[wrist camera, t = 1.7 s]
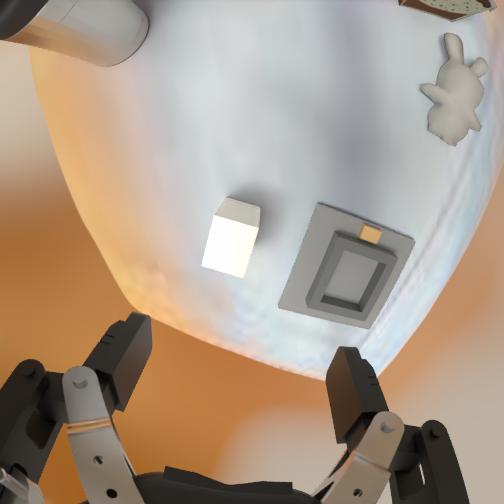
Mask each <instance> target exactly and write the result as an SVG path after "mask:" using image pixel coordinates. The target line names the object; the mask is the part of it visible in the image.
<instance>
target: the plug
mask: <svg viewBox="0 0 504 504" xmlns="http://www.w3.org/2000/svg"><path fill="white" fill-rule="evenodd" d="M259 222H260V207H259V206H255V205H252V204H249V203H245V202H242V201H239V200H235V199H232V198H228V197H226V199H225V200H224V201H223V203H222V204H221V206H220V207H219V209H218V210H217V212H216V213H215V215H214V218H213V222H212V225H211V229H210V233H209V237H208V241H207V245H206V249H205V253H204V257H203V262H202V266H204V267H208V268H211V269H214V270H218V271H221V272H225V273H228V274H231V275H235V276H238V277H242V278H243V277H244V273H245V270H246V267H247V264H248V261H249V258H250V255H251V252H252V249H253V246H254V243H255V239H256V236H257V233H258V230H259Z"/></svg>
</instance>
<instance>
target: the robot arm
mask: <svg viewBox="0 0 504 504" xmlns="http://www.w3.org/2000/svg"><path fill="white" fill-rule="evenodd" d="M148 24H149V22H148V17H147V16H146V14H145V13H144V12H143V11H142V10H141V9H140V8H139V7H138V6H137V5H136V4H135V3H133V2H132V1H131V0H0V40H4V41H9V42H15V43H20V44H25V45H30V46H34V47H38V48H42V49H46V50H50V51H54V52H58V53H61V54H65V55H68V56H71V57H75V58H78V59H81V60H84V61H87V62H90V63H93V64H96V65H99V66H112V65H115V64H118V63H120V62H122V61H124V60H125V59H127V58H128V57H129V56H131V55H132V54H133V53H134V52H135V51H136V50H137V49H138V48H139V46H140V45H141V44H142V42H143V41H144V39H145V37H146V34H147V31H148ZM151 350H152V331H151V318H150V316H149V315H145V314H141V313H137V312H132V313H131V314H130V316H129V317H128V318H127V320H126V321H121V320H119V321H118V322H116V323H114V324H113V325H111V326H110V327H109V329H108V330H107V331H106V333H105V335H104V336H103V337H102V338H101V340H100V342H98V344H97V345H96V347H95V348H94V349H93V351H92V352H91V354H90V355H89V357H88V358H87V359H86V361H85V362H84V364H83V365H82V366H76V367H72V368H70V369H69V370H67V371H66V372H65V373H56V372H49V371H45V369H44V367H43V365H42V363H40V362H39V361H37V360H34V359H28V360H24V361H22V362H21V363H19V364H18V366H17V367H16V368H15V370H14V371H13V372H12V374H11V375H10V377H9V378H8V379H7V381H6V382H5V384H4V385H3V387H2V388H1V390H0V504H43V495H42V492H41V490H40V488H39V487H38V482H39V479H40V477H41V474H42V471H43V469H44V466H45V464H46V461H47V459H48V457H49V454H50V452H51V450H52V447H53V445H54V443H55V440H56V438H57V436H58V434H59V432H60V429H61V427H62V425H63V423H67V424H70V427H68V428H67V433H68V438H69V442H70V446H71V449H72V453H73V457H74V460H75V464H76V467H77V470H78V473H79V476H80V479H81V482H82V485H83V488H84V491H85V493H86V496H87V498H88V500H86V501H84V502H82V503H79V504H376V503H377V501H378V499H379V498H380V496H381V494H382V492H383V490H384V488H385V486H386V484H387V482H388V480H389V483H390V489H391V496H392V503H393V504H470V503H469V499H468V495H467V491H466V487H465V484H464V480H463V477H462V473H461V470H460V467H459V464H458V460H457V458H456V454H455V451H454V448H453V446H452V443H451V440H450V437H449V434H448V432H447V429H446V428H445V426H444V425H443V424H442V423H440V422H439V421H436V420H429V421H426V422H425V423H424V424H423V425H422V426H421V427H416V426H410V425H405V424H404V423H403V421H402V420H401V418H400V417H399V416H398V415H396V414H394V413H392V412H389V409H388V406H387V403H386V401H385V398H384V395H383V392H382V390H381V387H380V386H379V382H378V379H377V378H376V374H375V371H374V369H373V367H372V366H371V365H370V364H369V362H368V361H367V360H366V359H361V356H360V353H359V351H358V349H357V348H356V347H343V346H340V347H339V348H338V349H337V352H336V354H335V356H334V358H333V360H332V362H331V364H330V367H329V369H328V371H327V374H326V386H327V392H328V397H329V402H330V407H331V413H332V418H333V424H334V429H335V435H336V440H337V444H340V443H346V444H347V449H346V450H345V451H344V453H343V454H342V456H341V457H340V459H339V460H338V462H337V463H336V465H335V466H334V468H333V469H332V470H331V472H330V473H329V475H328V476H327V477H326V479H325V480H324V481H323V482H322V483H321V485H320V486H319V487H318V488H317V489H316V490H315V491H314V492H313V493H312V494H311V495H309V494H307V493H305V492H302V491H299V490H296V489H293V488H292V482H267V481H260V482H253V483H245V484H235V485H227V484H223V483H221V482H218V481H216V480H213V479H210V478H208V477H205V476H203V475H200V474H198V473H195V472H190V471H185V470H180V469H176V468H172V467H168V466H165V470H164V472H151V473H144V474H140V475H137V476H136V474H135V472H134V470H133V468H132V466H131V463H130V461H129V459H128V457H127V455H126V453H125V450H124V448H123V445H122V443H121V440H120V438H119V435H118V433H117V430H116V427H115V424H114V422H113V419H112V415H113V412H114V410H115V409H116V410H119V411H122V412H124V410H125V408H126V406H127V403H128V401H129V399H130V397H131V395H132V392H133V390H134V388H135V386H136V384H137V382H138V379H139V377H140V375H141V373H142V371H143V369H144V367H145V365H146V363H147V360H148V358H149V356H150V354H151ZM420 464H421V466H422V470H423V474H424V479H425V484H423V480H422V475H421V471H420V467H419V465H420Z"/></svg>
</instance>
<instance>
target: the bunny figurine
mask: <svg viewBox="0 0 504 504" xmlns="http://www.w3.org/2000/svg"><path fill="white" fill-rule="evenodd" d="M444 40H445V43H446V47H447V50H448V54H449V58H450V59H449V60H448V61H447V62H446V63H445V64H444V65H443V66H442V67H441V69H440V71H439V73H438V77H437V84H436V86H435V85H433V84H422V86H421V90H422V91H423V92H424V93H425V94H426V95H427V96H428V97H429V98H430V99H431V100H432V101H433V102H434V103H435V105H433V106H432V107H431V108H430V110H429V112H428V121H429V127H428V129H429V130H430V131H431V132H433V133H434V134H436V135H437V136H441V139H442V140H444V141H445V142H446V143H448V144H449V145H452V146H456V144H457V142H459V141H460V140H462V139H463V138H464V137H465V136H466V135H467V133H468V130H469V128H470V129H472V130H476V131H480V129H481V127H482V126H481V124H480V122H479V120H478V118H477V116H476V114H475V111H474V109H475V108H476V107H477V106H478V105H479V104H480V102H481V100H482V98H483V95H484V87H483V85H482V84H481V82H480V80H479V79H478V78H479V77H481V76H482V75H483V74H485V72H486V71H487V70H488V68H489V67H488V63H487V62H486V61H485V59H483V58H481V57H478V58H477V59H476V60H475V62H474V63H473V65H472V66H471V67H470V68H469V67H468V66H466V65H465V64H464V57H463V44H462V41H461V39H460V37H459V36H458V35H456V34H452V33H446V34H444Z"/></svg>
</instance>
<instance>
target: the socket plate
mask: <svg viewBox="0 0 504 504" xmlns="http://www.w3.org/2000/svg"><path fill="white" fill-rule="evenodd" d="M414 244H415V241H413V240H412V239H410V238H408V237H405V236H403V235H400V234H398V233H396V232H393V231H391V230H388V229H386V228H383V227H381V226H378V225H376V224H373V223H371V222H368V221H366V220H363V219H360V218H358V217H355V216H352V215H350V214H347V213H344V212H342V211H339V210H336V209H333V208H331V207H328V206H325V205H322V204H319V203H317V205H316V208H315V211H314V214H313V216H312V219H311V222H310V224H309V227H308V230H307V232H306V235H305V238H304V240H303V243H302V245H301V248H300V251H299V253H298V256H297V258H296V261H295V263H294V266H293V268H292V271H291V273H290V276H289V278H288V281H287V283H286V286H285V288H284V291H283V293H282V296H281V298H280V300H279V303H278V308H280V309H284V310H288V311H292V312H296V313H300V314H304V315H308V316H312V317H316V318H321V319H325V320H329V321H333V322H338V323H342V324H346V325H351V326H355V327H360V328H365V329H370V328H371V326H372V324H373V323H374V321H375V319H376V318H377V316H378V314H379V312H380V311H381V309H382V307H383V305H384V304H385V302H386V300H387V298H388V297H389V295H390V293H391V291H392V289H393V287H394V285H395V283H396V282H397V280H398V278H399V276H400V274H401V272H402V270H403V268H404V266H405V264H406V262H407V259H408V257H409V255H410V253H411V251H412V249H413V247H414Z"/></svg>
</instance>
